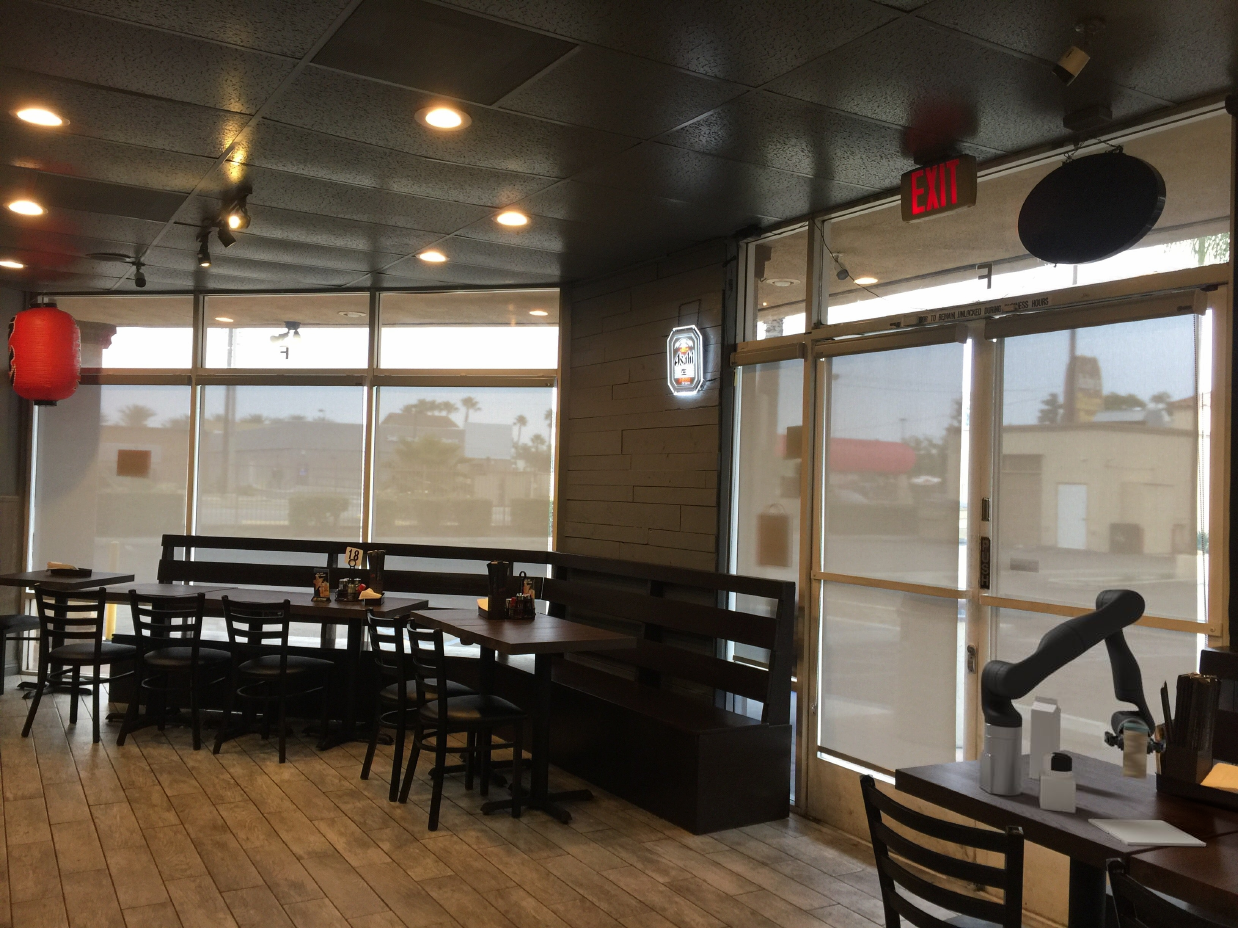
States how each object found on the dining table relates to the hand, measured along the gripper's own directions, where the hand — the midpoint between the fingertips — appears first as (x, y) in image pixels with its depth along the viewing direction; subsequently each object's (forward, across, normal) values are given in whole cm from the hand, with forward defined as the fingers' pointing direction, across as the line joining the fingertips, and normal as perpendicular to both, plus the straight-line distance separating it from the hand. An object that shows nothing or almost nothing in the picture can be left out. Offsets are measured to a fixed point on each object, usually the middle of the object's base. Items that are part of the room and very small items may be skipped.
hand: (1135, 748), depth 239 cm
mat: (+10, +2, +17) cm, 20 cm away
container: (-1, -17, +17) cm, 24 cm away
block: (-3, 0, +7) cm, 7 cm away
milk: (-28, -21, +17) cm, 39 cm away
